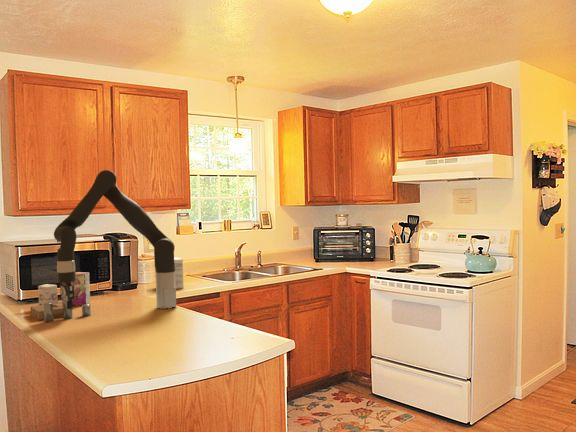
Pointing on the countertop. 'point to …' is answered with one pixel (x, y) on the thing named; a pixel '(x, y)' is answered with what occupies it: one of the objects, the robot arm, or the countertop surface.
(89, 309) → the short pin
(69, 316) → the long pin
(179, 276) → the supplement box
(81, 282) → the candy bar box
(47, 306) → the medium pin
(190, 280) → the countertop surface
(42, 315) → the hole board
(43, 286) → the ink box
